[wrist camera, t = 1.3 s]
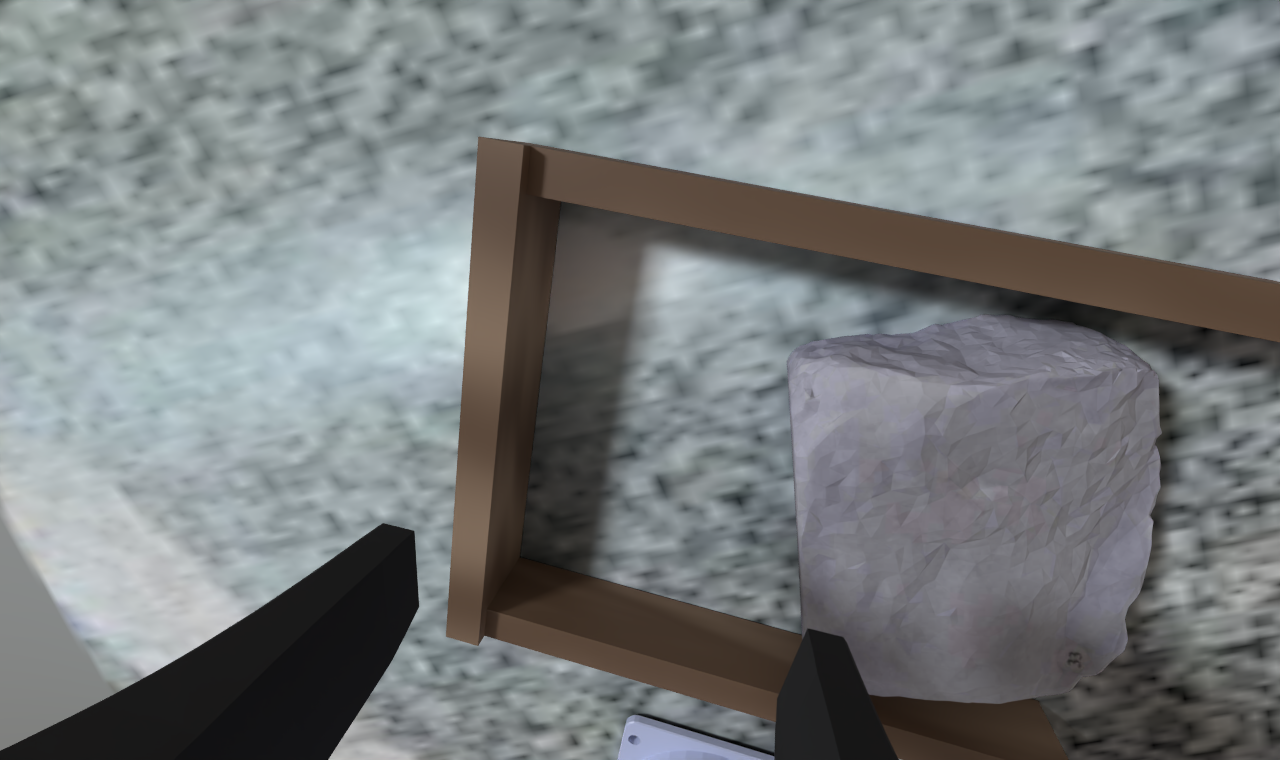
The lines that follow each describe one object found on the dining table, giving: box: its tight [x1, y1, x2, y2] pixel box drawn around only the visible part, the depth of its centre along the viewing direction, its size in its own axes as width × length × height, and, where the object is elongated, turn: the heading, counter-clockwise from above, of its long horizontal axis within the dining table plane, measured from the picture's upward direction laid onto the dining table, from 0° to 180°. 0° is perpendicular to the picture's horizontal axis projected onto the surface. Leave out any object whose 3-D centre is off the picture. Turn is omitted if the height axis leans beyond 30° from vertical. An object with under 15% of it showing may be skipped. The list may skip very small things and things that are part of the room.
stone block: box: [787, 314, 1162, 704], centre depth 18 cm, size 12×5×10 cm
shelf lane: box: [446, 137, 1280, 760], centre depth 18 cm, size 16×21×4 cm
